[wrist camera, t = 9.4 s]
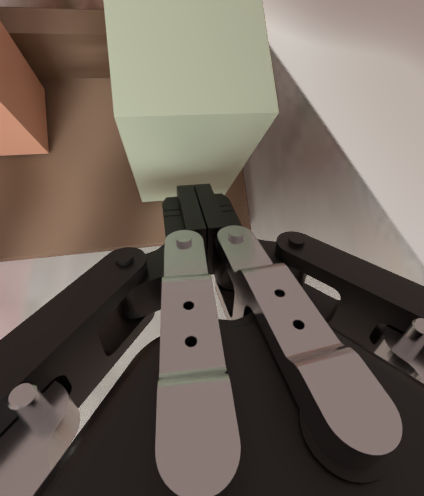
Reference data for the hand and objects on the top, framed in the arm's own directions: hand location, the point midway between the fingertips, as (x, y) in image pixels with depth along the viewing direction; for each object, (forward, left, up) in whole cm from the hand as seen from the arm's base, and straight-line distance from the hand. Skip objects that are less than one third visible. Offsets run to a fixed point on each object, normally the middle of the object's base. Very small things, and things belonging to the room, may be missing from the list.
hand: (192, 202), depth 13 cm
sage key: (-1, +3, -4) cm, 5 cm away
